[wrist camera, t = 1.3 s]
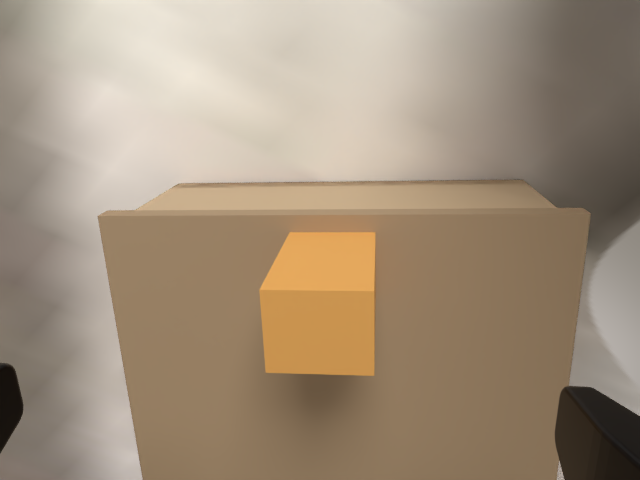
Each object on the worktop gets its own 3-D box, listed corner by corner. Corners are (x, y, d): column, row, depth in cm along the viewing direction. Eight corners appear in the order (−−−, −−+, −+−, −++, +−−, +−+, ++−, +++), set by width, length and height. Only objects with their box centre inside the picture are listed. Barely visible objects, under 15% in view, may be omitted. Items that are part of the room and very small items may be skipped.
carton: (522, 179, 19) (568, 217, 15) (493, 522, 24) (520, 633, 20) (178, 183, 21) (120, 219, 16) (217, 506, 26) (181, 606, 21)
